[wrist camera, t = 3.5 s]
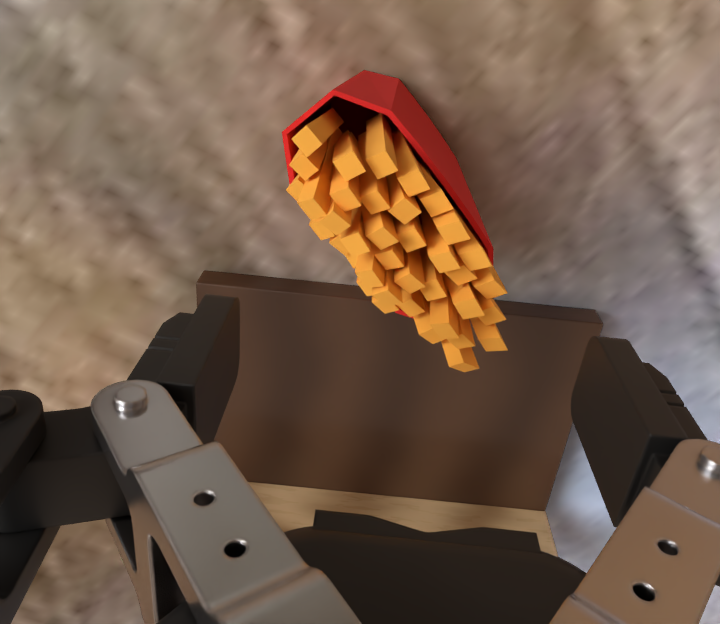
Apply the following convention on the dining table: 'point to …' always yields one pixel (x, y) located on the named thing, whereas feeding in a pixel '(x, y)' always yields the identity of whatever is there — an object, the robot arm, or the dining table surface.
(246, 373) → the wooden display stand
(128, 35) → the dining table surface
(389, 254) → the french fries
